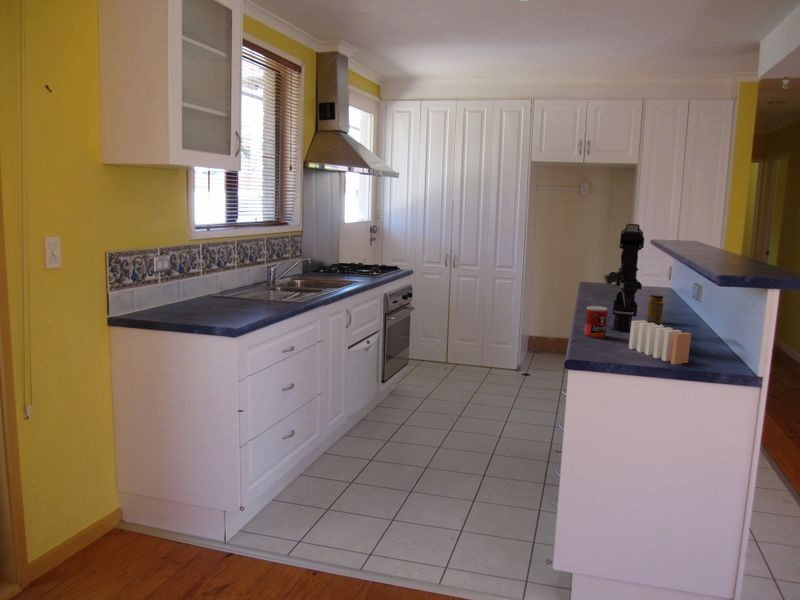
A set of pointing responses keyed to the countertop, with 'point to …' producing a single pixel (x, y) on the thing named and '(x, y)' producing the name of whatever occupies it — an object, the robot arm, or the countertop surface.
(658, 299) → the condiment
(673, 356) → the domino
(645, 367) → the countertop surface
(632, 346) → the domino
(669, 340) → the domino
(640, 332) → the domino
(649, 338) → the domino
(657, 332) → the domino
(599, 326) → the canned food
